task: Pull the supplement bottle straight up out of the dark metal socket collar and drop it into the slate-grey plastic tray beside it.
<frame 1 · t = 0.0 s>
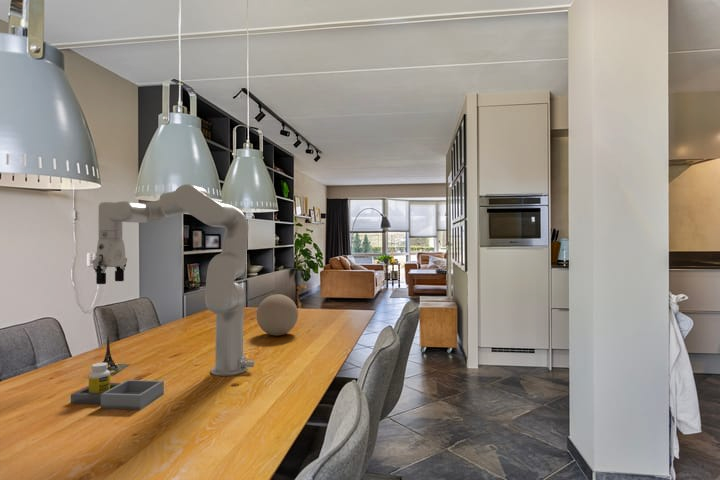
hand: (110, 282, 150), 31 cm above the table, tool pointing down, fingers open, 9 cm apart
supplement bottle: (99, 397, 122), resting in socket collar
socket collar: (99, 396, 122), on the table
eiffel tower figurine: (109, 371, 148), on the table
tray: (133, 400, 119), on the table
decorative sphere: (277, 335, 201), on the table
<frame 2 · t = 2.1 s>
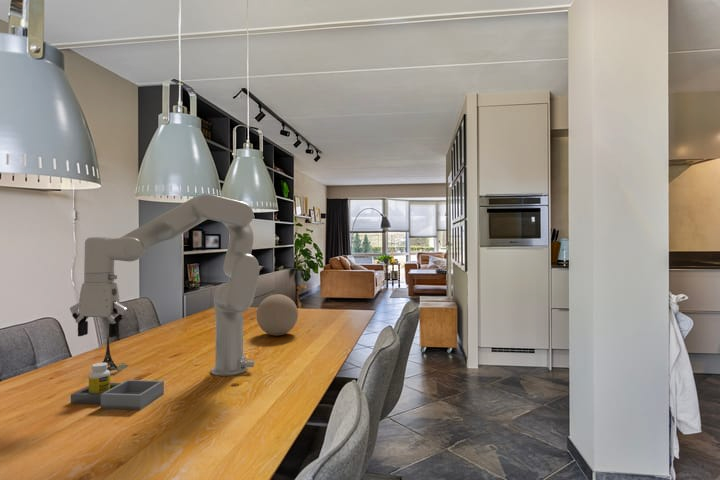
hand: (98, 335, 122), 18 cm above the table, tool pointing down, fingers open, 9 cm apart
nothing on the table moved.
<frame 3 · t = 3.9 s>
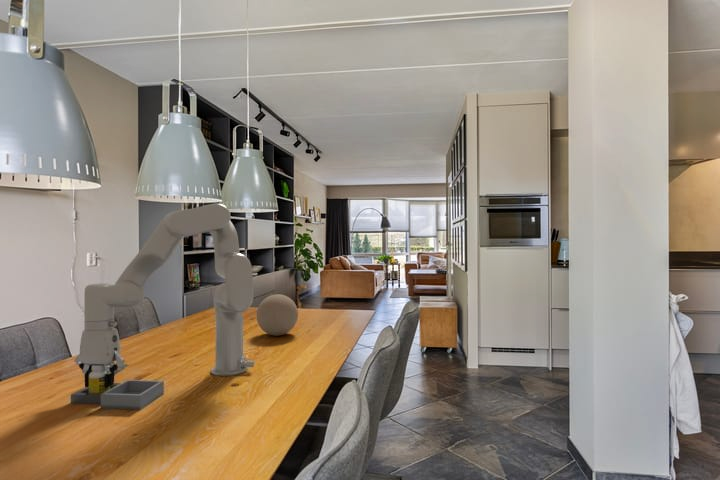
hand: (99, 385, 122), 4 cm above the table, tool pointing down, fingers closed on supplement bottle, 5 cm apart
supplement bottle: (99, 397, 122), resting in socket collar, touching gripper
everything else where it was.
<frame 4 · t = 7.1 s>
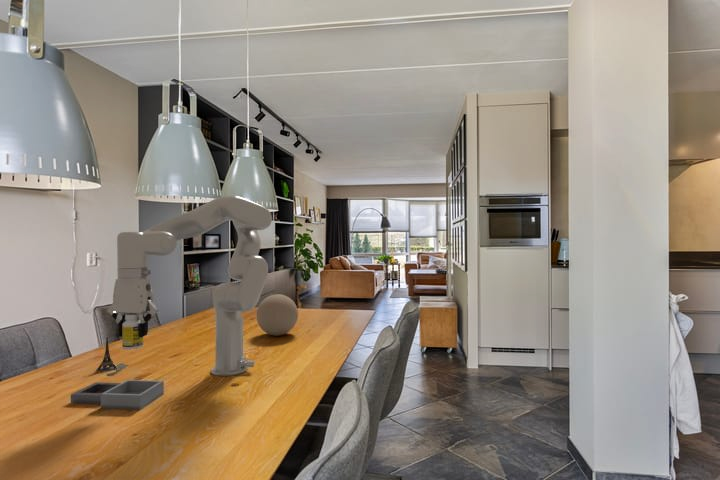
hand: (133, 335, 119), 19 cm above the table, tool pointing down, fingers closed on supplement bottle, 5 cm apart
supplement bottle: (133, 347, 119), point 15 cm above the table, touching gripper
everything else where it was.
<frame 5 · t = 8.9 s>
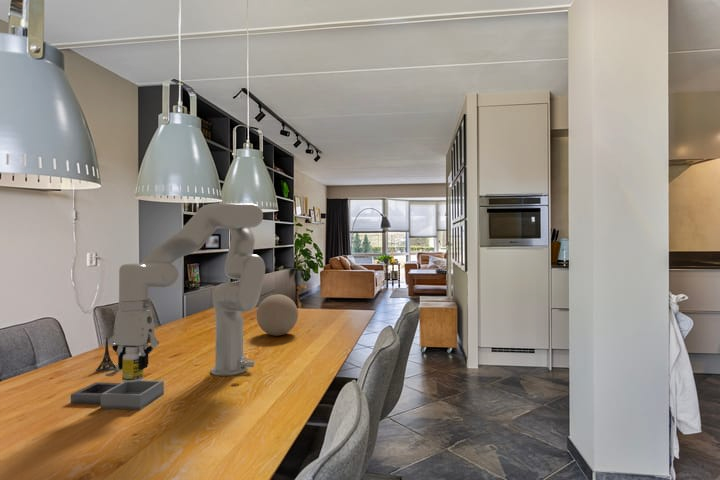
hand: (133, 367, 119), 10 cm above the table, tool pointing down, fingers closed on supplement bottle, 5 cm apart
supplement bottle: (133, 380, 119), point 6 cm above the table, touching gripper
everything else where it was.
when the fingers open (7 cm above the table, at t = 10.3 s): supplement bottle drops 2 cm, resting on tray.
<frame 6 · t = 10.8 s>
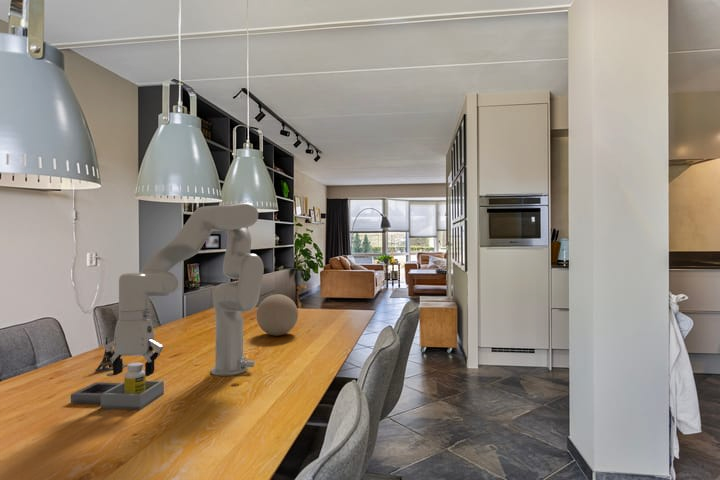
hand: (133, 374, 119), 8 cm above the table, tool pointing down, fingers open, 9 cm apart
supplement bottle: (135, 398, 119), point 1 cm above the table, touching tray
everything else where it was.
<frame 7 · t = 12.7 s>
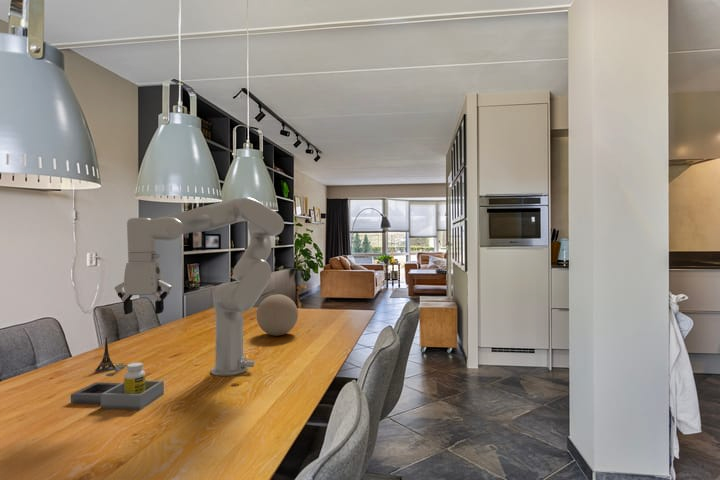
hand: (143, 313, 126), 24 cm above the table, tool pointing down, fingers open, 9 cm apart
nothing on the table moved.
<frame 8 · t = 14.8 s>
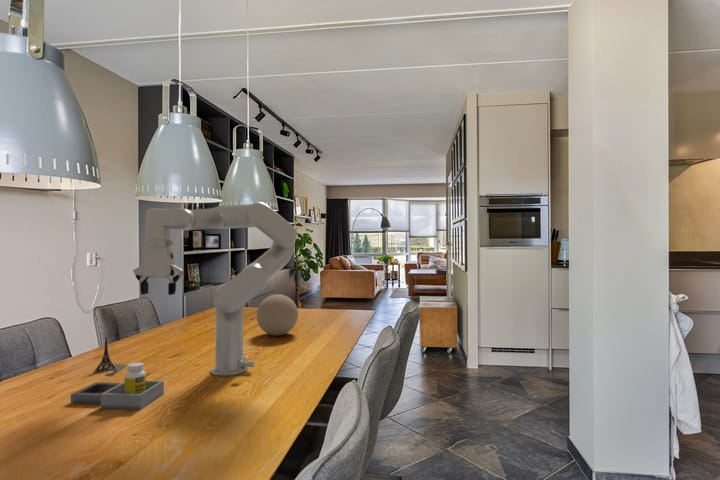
hand: (158, 294, 140), 28 cm above the table, tool pointing down, fingers open, 9 cm apart
nothing on the table moved.
at the end: supplement bottle inside the target area on the tray (0.4 cm from its centre), point 0.6 cm above the tray's base; the gripper is holding nothing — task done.
